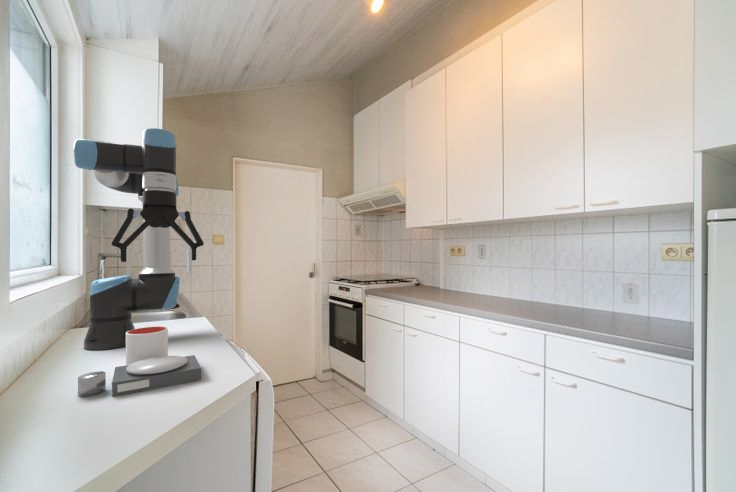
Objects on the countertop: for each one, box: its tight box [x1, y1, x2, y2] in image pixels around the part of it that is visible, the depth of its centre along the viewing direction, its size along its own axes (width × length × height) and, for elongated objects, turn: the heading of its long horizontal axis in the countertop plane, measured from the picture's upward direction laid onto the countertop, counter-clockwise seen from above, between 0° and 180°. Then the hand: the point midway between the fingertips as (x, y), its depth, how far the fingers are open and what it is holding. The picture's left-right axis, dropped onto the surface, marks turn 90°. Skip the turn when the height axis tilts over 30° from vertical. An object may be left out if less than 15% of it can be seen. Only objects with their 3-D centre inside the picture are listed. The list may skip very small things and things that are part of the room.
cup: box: [125, 326, 169, 366], centre depth 101 cm, size 10×10×10 cm
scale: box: [111, 355, 202, 397], centre depth 90 cm, size 13×18×4 cm
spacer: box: [77, 371, 107, 398], centre depth 82 cm, size 5×5×4 cm
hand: (160, 274), depth 93 cm, fingers open, 13 cm apart
